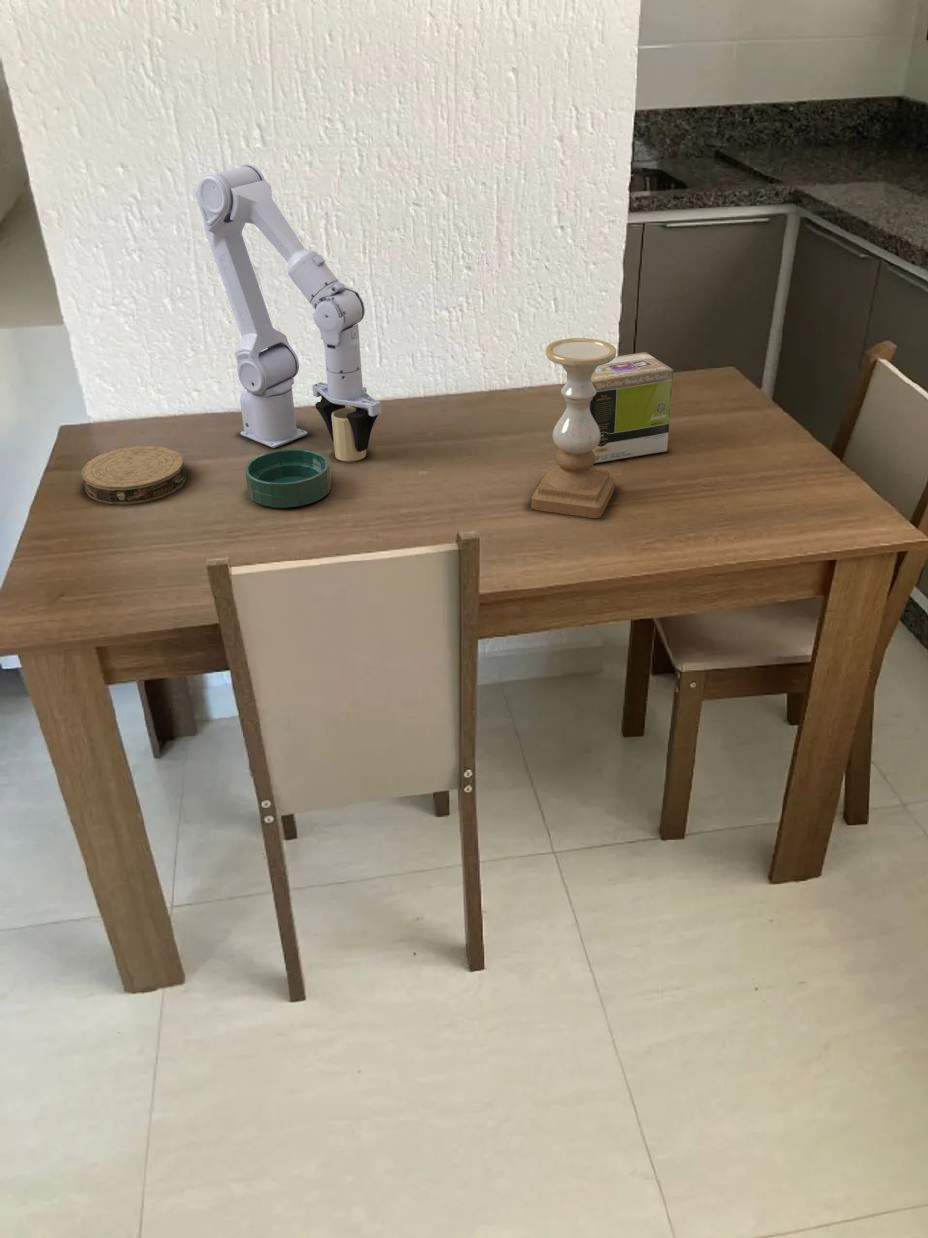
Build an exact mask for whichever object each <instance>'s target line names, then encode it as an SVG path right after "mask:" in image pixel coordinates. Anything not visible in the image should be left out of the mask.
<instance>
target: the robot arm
mask: <svg viewBox="0 0 928 1238" xmlns="http://www.w3.org/2000/svg"><path fill="white" fill-rule="evenodd" d="M194 196H195V199H196V201H197V204H198V207H199V210H200V213H201V216H202V219H203V228H204V232H205V236H206V238H207V241H208V244H209V247H210V249H211V252H212V255H213V258H214V262H215V264H216V267H217V269H218V273H219V275H220V278H221V281H222V285H223V287H224V290H225V293H226V296H227V298H228V301H229V304H230V307H231V310H232V312H233V316H234V318H235V322H236V325H237V327H238V330H239V333H240V336H241V337H240V340H239V343H238V344H237V347H236V348H235V351H234V357H235V360H236V363H237V364H236V365H237V370H236V371H237V377H238V380H239V382H240V384H241V385H242V387H243V389H242V390H241V393H240V399H239V403H240V411H241V417H242V426H243V430H242V431H240V436H243V437H245V438H247V439H250V440H252V441H255V442H258V443H259V444H262V445H265V446H267V447H270V448H272V449H275V448H278V447H280V446H283V445H286V444H288V443H291V442H293V441H296V440H299V439H300V438H301V439H302V438H303V437H305V436H307V435H308V431H307V430H304V429H301V428H298V427H297V420H296V411H295V401H294V392H293V385H294V384H295V377H296V376H297V375H298V373H299V370H300V362H299V358H298V356H297V354H296V352H295V351H294V349H293V347H291V344H290V343H289V341H288V337H287V335H286V334H284V333H283V332H281V331H279V330H278V329H276V328H274V327H273V324H272V321H271V318H270V315H269V311H268V308H267V305H266V303H265V300H264V297H263V294H262V291H261V288H260V285H259V281H258V279H257V276H256V272H255V269H254V266H253V264H252V261H251V257H250V255H249V252H248V249H247V246H246V243H245V240H244V237H243V234H242V232H243V230H244V227H245V225H246V224H252V225H254V226H255V227H256V228H257V229H258V230H259V231H260V232H261V234H262V235H263V236H264V237H265V238H266V239H267V241H268V242H269V243H270V244H271V245H272V246H273V247H274V249H275V250H276V251H277V252H278V253H279V254H280V256H282V257H283V259H284V260H285V261H286V262H287V275H288V277H289V278H290V279H291V281H292V282H293V283H294V285H295V286H296V287H297V289H298V290H299V291H300V293H302V295H303V296H304V297H305V299H306V300H307V301H308V303H309V304H310V305H311V307H312V308H313V309H314V312H313V313H312V318H313V321H314V323H315V325H316V327H317V329H318V330H319V332H320V340H322V343H323V349H324V361H325V370H326V371H325V372H326V382H322V381H320V382H317V383H315V384H314V383H313V384H312V395H313V397H315V398H319V397H320V398H321V399H320V401H317V402H315V404H314V406H315V409H316V410H317V411H318V413H319V415H320V416H321V417H322V420H323V421H324V423H325V425H326V429H327V431H328V433H329V437H330V440H331V442H332V443H334V439H333V428H332V417H331V415H332V412H334V411H335V410H338V409H341V408H346V406H347V407H349V408H356V411H354V412H352V413H349V414H347V415H346V417H347V419H348V420H349V422H350V425H351V428H352V431H353V435H354V443H355V448H356V451H358V452H361V451H364V450H366V451H367V450H368V448H369V444H370V439H371V434H372V431H373V428H374V426H375V425H374V424H375V423H376V420H377V419H378V416H379V415H380V414H382V403H381V401H378V400H377V399H375V398H373V397H372V396H371V395H370V394H368V393H367V392H368V391H367V387H365V386H363V384H364V383H363V371H362V358H361V345H360V344H361V343H360V328H359V323H361V322H362V320H363V318H364V316H365V313H366V310H365V309H366V308H365V304H364V301H363V299H362V297H361V295H360V293H359V292H358V291H357V290H356V289H354V288H352V287H348V286H346V284H344V283H342V282H341V281H340V280H339V279H338V278H337V276H335V274H334V273H333V271H332V270H331V269H330V267H329V266H328V265H327V264H326V259H324V257H323V256H322V255H321V254H319V253H318V252H317V251H315V250H310V249H306V248H305V246H304V245H303V243H302V242H301V240H300V239H299V237H298V236H297V234H296V233H295V231H294V229H293V228H292V227H291V225H290V224H289V222H288V221H287V219H286V217H285V216H284V215H283V213H282V212H281V210H280V209H279V207H278V205H277V204H276V202H275V200H274V199H273V195H272V186H271V184H270V183H269V182H268V181H267V180H266V179H265V177H264V174H263V173H262V172H261V170H259V169H258V168H257V167H256V166H255V165H252V164H248V163H247V164H242V165H241V166H238V167H234V168H230V169H226V170H221V171H218V172H209V173H206V174H204V175H203V176H202V177H201V178H200V180H199V182H198V185H197V188H196V190H195V193H194Z"/></svg>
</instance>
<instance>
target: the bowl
mask: <svg viewBox="0 0 928 1238" xmlns="http://www.w3.org/2000/svg"><path fill="white" fill-rule="evenodd" d="M330 469H331V468H330V462H329V459H328V458H327V457H326V456H324V455H323V454H322V453H319V452H316V451H313V450H310V449H303V448H301V449H300V448H287V449H279V450H277V449H276V450H274V451H269V452H265V453H262V454H260V455H257V456H255V457H254V458H252V459H251V460H250V461H248V463H247V464H246V465H245V467H244V471H245V481H246V486H247V493H248V494H247V495H248V497H249V498H250V500H252V501H253V502H254V503H257V504H259V505H261V506H265V507H270V508H282V509H283V508H284V509H285V508H295V507H301V506H305V505H310V504H313V503H316V502H318V501H320V500H322V499H323V498H324V497H326V496H327V495H328V494H329V493H330V491H331V489H332V480H331V470H330Z"/></svg>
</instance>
